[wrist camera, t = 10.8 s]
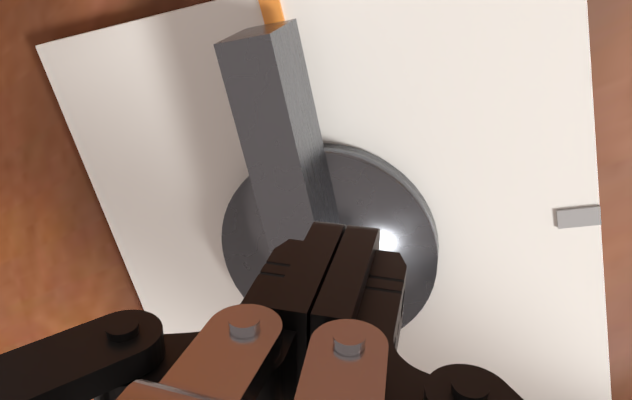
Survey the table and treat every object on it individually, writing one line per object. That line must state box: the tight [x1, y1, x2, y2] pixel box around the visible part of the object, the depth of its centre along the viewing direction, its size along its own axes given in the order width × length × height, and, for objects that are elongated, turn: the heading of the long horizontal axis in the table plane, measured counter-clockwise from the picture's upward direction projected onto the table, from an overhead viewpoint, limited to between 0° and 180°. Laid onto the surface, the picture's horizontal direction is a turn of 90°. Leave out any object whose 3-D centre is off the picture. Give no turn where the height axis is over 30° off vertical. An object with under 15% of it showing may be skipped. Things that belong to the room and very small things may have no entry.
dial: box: [213, 19, 439, 329], centre depth 30 cm, size 18×12×6 cm, turn 12°
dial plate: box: [35, 0, 612, 400], centre depth 34 cm, size 28×28×2 cm
